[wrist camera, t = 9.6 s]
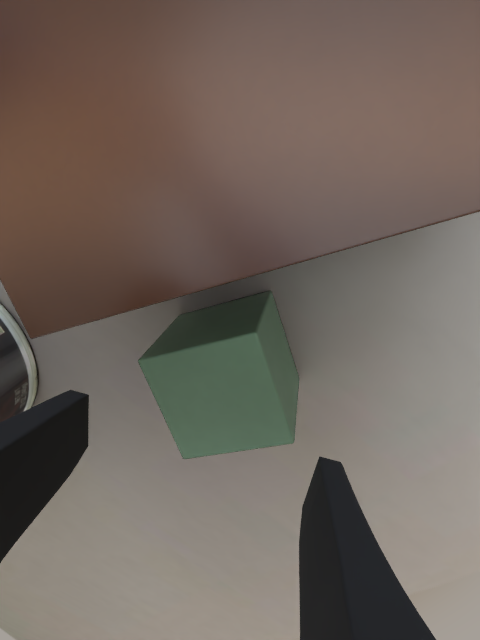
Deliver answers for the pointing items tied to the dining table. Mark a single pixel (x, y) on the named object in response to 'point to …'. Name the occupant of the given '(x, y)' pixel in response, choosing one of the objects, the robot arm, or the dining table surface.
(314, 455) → the dining table surface
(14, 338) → the coffee can
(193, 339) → the block
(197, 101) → the lid
